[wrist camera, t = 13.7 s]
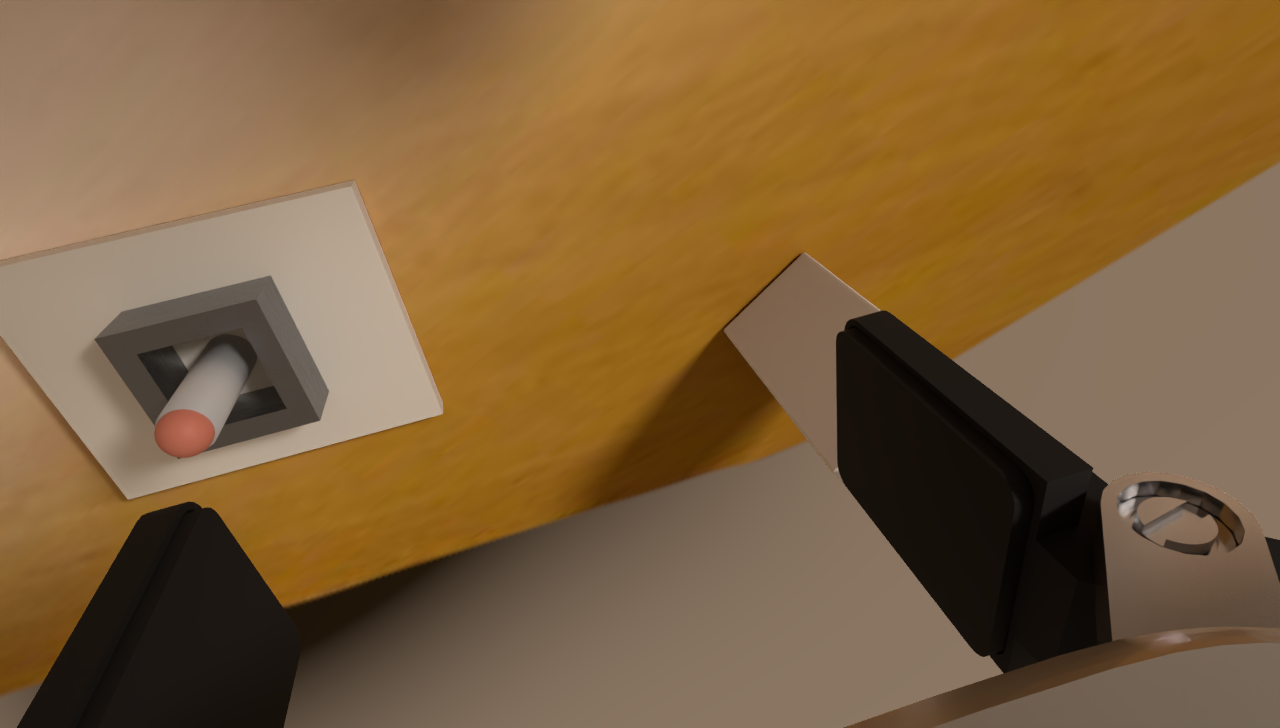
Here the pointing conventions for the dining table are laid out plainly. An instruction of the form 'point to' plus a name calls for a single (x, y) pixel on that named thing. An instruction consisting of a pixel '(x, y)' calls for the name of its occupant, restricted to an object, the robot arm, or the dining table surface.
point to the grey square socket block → (254, 306)
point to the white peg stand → (223, 363)
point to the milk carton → (800, 346)
